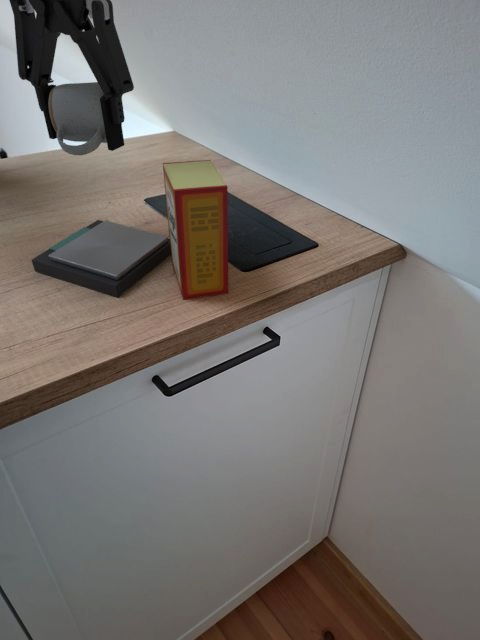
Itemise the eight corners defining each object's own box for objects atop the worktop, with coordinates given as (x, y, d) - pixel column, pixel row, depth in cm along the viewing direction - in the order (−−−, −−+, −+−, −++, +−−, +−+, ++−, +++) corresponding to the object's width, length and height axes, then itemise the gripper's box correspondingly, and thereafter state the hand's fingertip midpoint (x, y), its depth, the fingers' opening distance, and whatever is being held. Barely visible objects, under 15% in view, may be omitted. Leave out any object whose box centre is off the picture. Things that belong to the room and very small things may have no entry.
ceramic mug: (70, 131, 73) (58, 74, 68) (125, 133, 74) (116, 76, 69) (46, 156, 65) (30, 93, 60) (107, 158, 66) (96, 96, 61)
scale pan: (49, 260, 71) (48, 255, 71) (106, 224, 80) (105, 220, 80) (117, 280, 68) (116, 275, 67) (168, 241, 77) (168, 236, 76)
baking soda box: (172, 265, 75) (162, 160, 65) (213, 260, 77) (210, 157, 66) (183, 299, 68) (174, 187, 58) (228, 293, 70) (227, 183, 60)
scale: (34, 271, 72) (30, 258, 71) (100, 230, 83) (97, 218, 82) (118, 297, 68) (115, 284, 67) (175, 251, 79) (174, 238, 77)
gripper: (149, -60, 55) (167, 146, 69) (-2, -67, 61) (44, 123, 75) (107, -61, 49) (137, 163, 64) (-53, -69, 56) (6, 137, 70)
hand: (86, 141), depth 70 cm, fingers closed on ceramic mug, 9 cm apart
